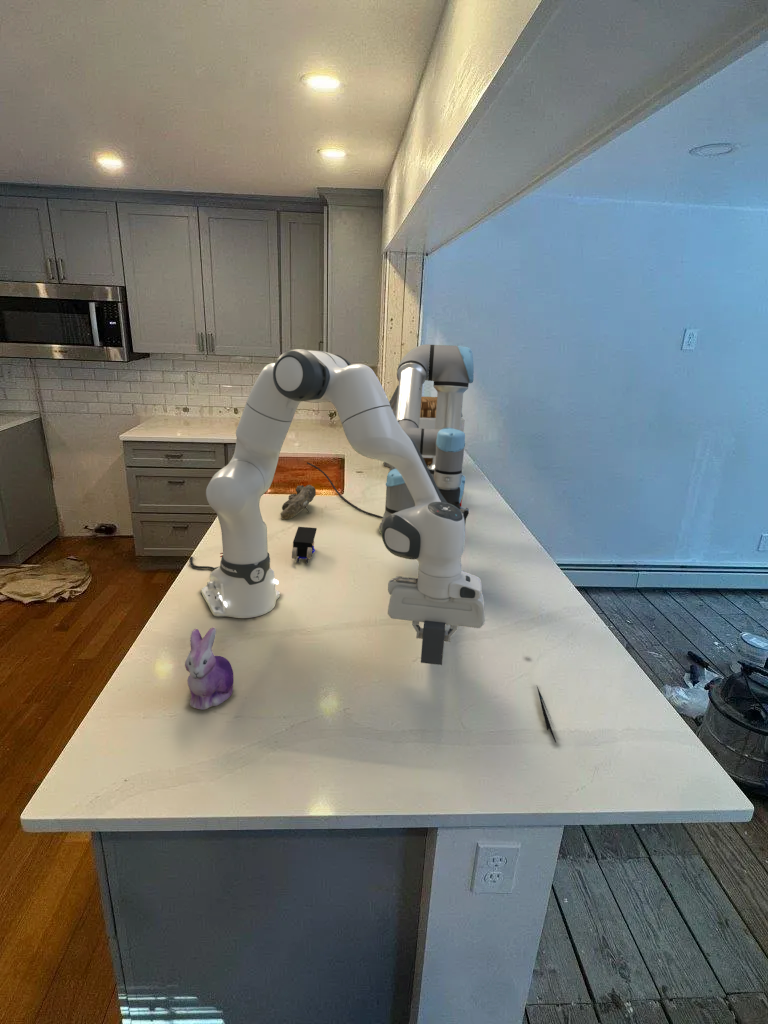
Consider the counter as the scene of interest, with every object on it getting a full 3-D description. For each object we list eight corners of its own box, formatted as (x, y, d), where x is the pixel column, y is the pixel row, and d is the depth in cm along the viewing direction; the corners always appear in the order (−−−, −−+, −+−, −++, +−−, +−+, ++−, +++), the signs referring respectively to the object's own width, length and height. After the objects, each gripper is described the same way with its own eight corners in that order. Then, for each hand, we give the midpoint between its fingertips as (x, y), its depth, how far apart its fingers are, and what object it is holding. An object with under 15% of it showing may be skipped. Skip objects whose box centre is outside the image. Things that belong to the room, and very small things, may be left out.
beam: (433, 558, 169) (435, 531, 166) (448, 559, 168) (450, 532, 165) (420, 662, 118) (423, 627, 115) (441, 665, 118) (445, 629, 115)
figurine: (192, 718, 107) (185, 650, 102) (183, 687, 116) (177, 623, 111) (241, 704, 111) (238, 639, 106) (229, 675, 120) (225, 613, 115)
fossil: (285, 490, 226) (313, 470, 221) (301, 508, 229) (329, 489, 224) (270, 515, 206) (301, 493, 201) (287, 534, 209) (318, 513, 204)
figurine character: (313, 570, 172) (317, 545, 186) (312, 548, 169) (317, 525, 182) (290, 569, 172) (297, 545, 186) (290, 548, 169) (296, 524, 182)
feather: (528, 662, 131) (533, 656, 131) (556, 747, 105) (562, 740, 104) (522, 659, 131) (527, 652, 130) (548, 742, 104) (555, 735, 104)
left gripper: (386, 582, 114) (383, 641, 119) (488, 593, 112) (481, 652, 117) (390, 569, 120) (387, 625, 125) (487, 579, 118) (480, 636, 123)
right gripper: (414, 487, 153) (409, 565, 162) (479, 492, 152) (471, 571, 160) (416, 479, 161) (411, 554, 169) (478, 484, 159) (470, 560, 167)
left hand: (433, 638), depth 121 cm, fingers closed on beam, 4 cm apart
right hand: (440, 562), depth 164 cm, fingers closed on beam, 4 cm apart
